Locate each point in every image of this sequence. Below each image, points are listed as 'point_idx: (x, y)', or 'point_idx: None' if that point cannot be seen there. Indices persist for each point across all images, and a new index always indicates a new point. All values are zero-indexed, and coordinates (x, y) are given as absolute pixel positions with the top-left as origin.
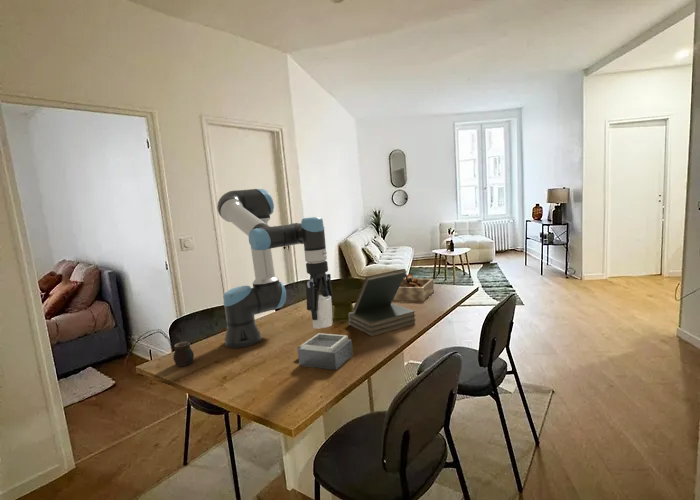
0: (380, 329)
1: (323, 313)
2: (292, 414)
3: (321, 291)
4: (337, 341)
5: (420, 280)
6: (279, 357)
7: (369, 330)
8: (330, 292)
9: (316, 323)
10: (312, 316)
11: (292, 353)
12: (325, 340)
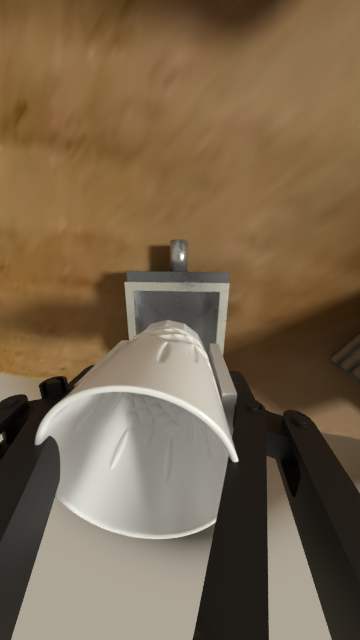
0: (356, 380)
1: (119, 418)
2: (8, 354)
3: (214, 535)
4: None
5: None
6: (164, 185)
7: (348, 358)
8: (299, 528)
9: None
10: (78, 378)
11: (196, 207)
12: (202, 316)
